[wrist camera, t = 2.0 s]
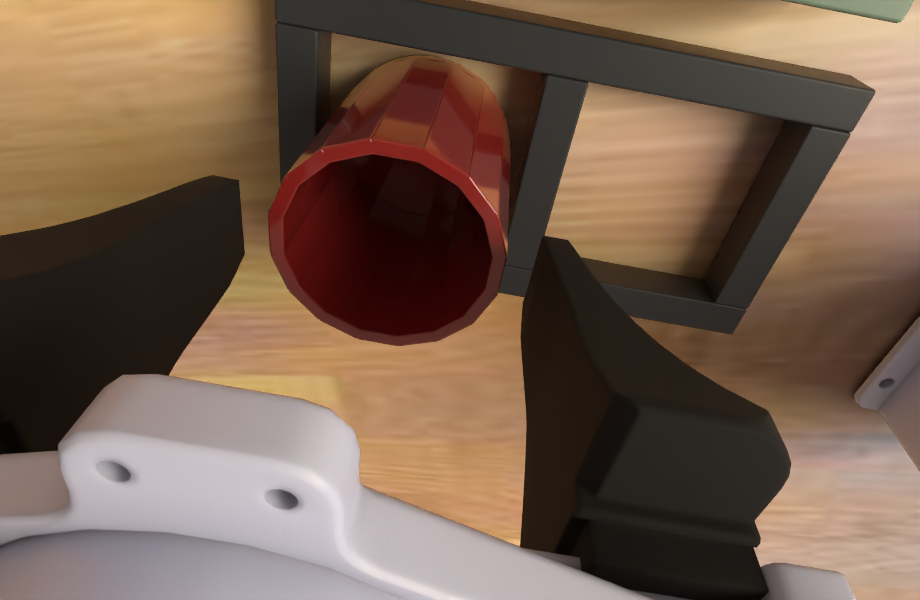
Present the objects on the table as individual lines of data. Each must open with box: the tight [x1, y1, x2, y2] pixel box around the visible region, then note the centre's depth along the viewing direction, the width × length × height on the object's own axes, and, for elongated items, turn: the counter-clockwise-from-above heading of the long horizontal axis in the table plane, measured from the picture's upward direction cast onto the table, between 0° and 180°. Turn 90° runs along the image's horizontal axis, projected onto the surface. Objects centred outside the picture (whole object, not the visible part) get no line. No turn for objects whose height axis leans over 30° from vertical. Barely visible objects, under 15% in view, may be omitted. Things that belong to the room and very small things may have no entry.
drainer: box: [275, 0, 875, 334], centre depth 18 cm, size 9×16×2 cm, turn 81°
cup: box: [268, 55, 511, 346], centre depth 16 cm, size 6×6×7 cm
